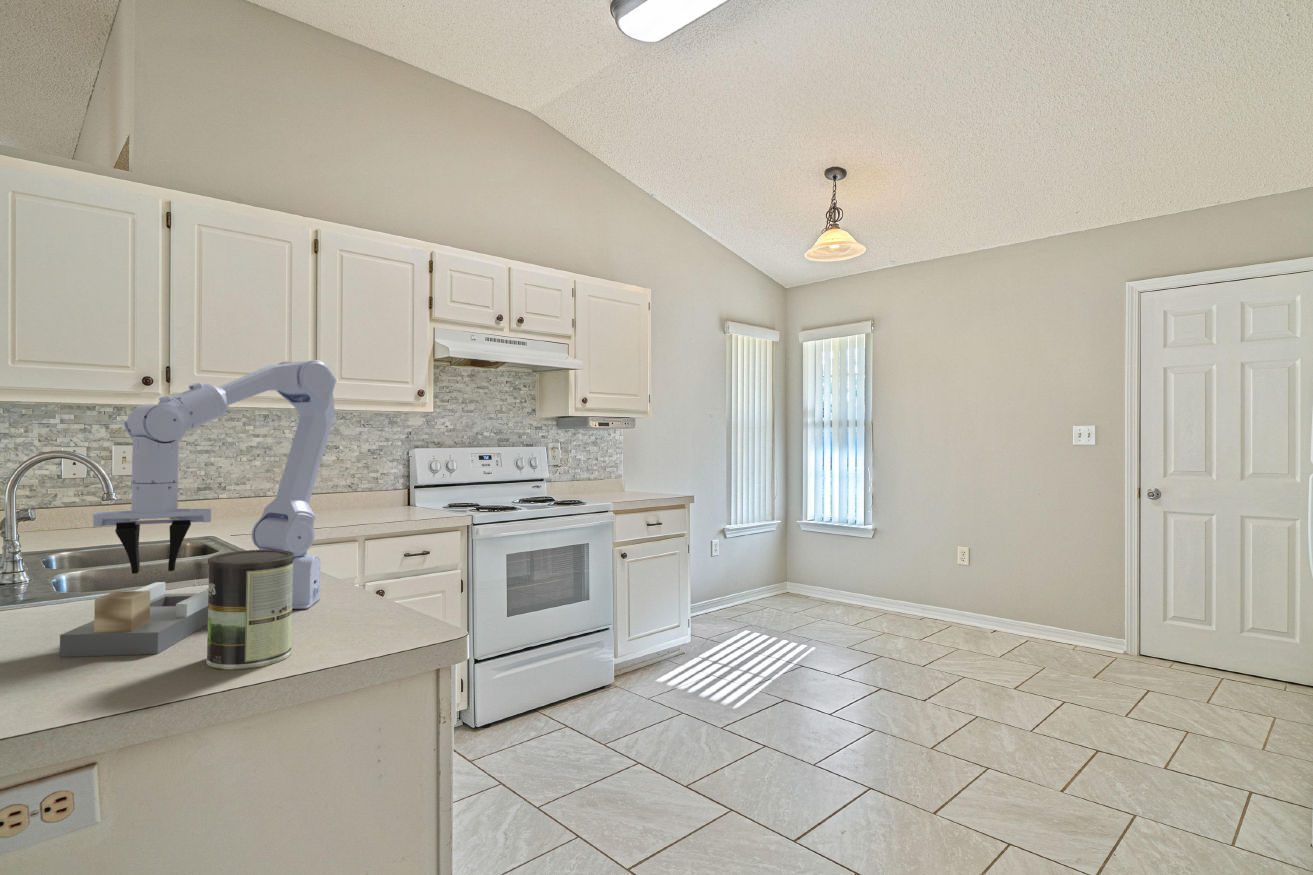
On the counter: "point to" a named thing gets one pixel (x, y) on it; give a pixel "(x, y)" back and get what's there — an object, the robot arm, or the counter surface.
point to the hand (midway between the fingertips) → (153, 571)
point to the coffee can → (249, 608)
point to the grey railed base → (143, 627)
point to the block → (122, 611)
